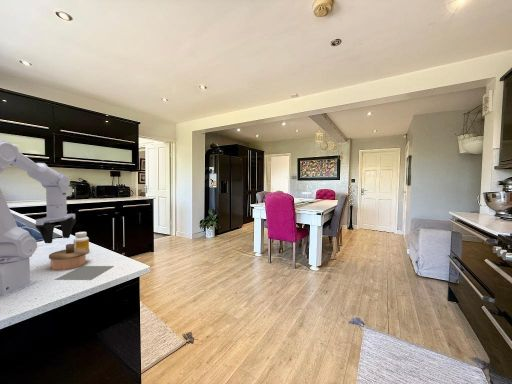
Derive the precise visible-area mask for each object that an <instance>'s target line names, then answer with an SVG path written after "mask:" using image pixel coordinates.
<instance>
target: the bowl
mask: <svg viewBox="0 0 512 384" xmlns="http://www.w3.org/2000/svg"><path fill="white" fill-rule="evenodd" d="M86 255H87V254H86ZM86 255H84V256H80V257H76V258H71V259H64V260H52V259H50V269H51V270H53V271H63V270H70V269H76V268H79V267H81V266H84V265H85V264H86V262H87V259H86V257H87V256H86Z"/></svg>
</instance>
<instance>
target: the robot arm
mask: <svg viewBox="0 0 512 384" xmlns="http://www.w3.org/2000/svg"><path fill="white" fill-rule="evenodd" d="M11 165H12V166H14V167H16V168H18V169H21V170H22V171H25V172H26V174H27V176H28V177H29V178H31V179H32V180H33V179H34V180H35V181H37V182H39V183H40V184H41V186H42V187H43V189H45V196H46V200H45V203H46V204H45V205H46V216H45V217H42V218H41V217H40V218H36V219H35V225H34V226H35V228H36V229H37V230H38V232H39V233H40V235H41V236H42V237H41V238H42V239H43V242H44V243H45V244H52V243H53V239H54V230H55V227H56V224H52V223H56V222H59V224H60V227H61V235H62V238H63V239H69V238H70V237H71V233H72V230H73V227H74V226H75V225H76V223H77V219H76V213H68V209H67V207H68V206H67V205H68V202H67V193H68V192H69V187H70V184H71V180H70V177H69V176H68V175H66V174H65V173H59V172H58V171H56V169H52V168H51V167H49V166H48V164H46V163H45V162H34V161H33V160H32V159H30V158H29V157H27V156H26V155H24V154H23V153H22V152H21V151H19V148H18V146H17V145H14V144H13V143H11V142H9V141H7V140H0V174H2V173H3V172H4V171H5V170H7V168H9V167H10V166H11ZM37 248H38V243H37V240H36V239H35V237H33V236H32V235H31V234H30V232H29V231H28V230H27V229H24V228H23V227H20V226H18V224H17V222H16V221H15V218H14V215H13V214H12V211H11V209H10V207H9V204H8V203H7V201H6V199H5V196H4V194H3V192H2V190H1V189H0V297H1V296H2V297H6V296H7V297H8V296H9V295H12V294H14V293H16V292H18V291H21V290H22V289H26V288H27V287H29V286H31V285H33V284H36V283H38V282H39V280H38V279H37V280H31V269H30V266H31V265H30V258H31V257H32V256H33V255H34V253H35V252H36V250H37Z"/></svg>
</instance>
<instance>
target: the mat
mask: <svg viewBox="0 0 512 384" xmlns="http://www.w3.org/2000/svg"><path fill="white" fill-rule="evenodd" d="M114 267H115V266H114V265H81V266H79V267H76V268H74V269H73V270H71V271H69V272H67V273H65V274H63V275H61V276H59V277H56V278H55V279H54V280H55V281H59V280H60V281H92V280H94V279H96V278H97V277H99V276H100V275H102V274H104V273H106V272H107V271H109V270H111V269H112V268H114Z"/></svg>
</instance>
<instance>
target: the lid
mask: <svg viewBox="0 0 512 384" xmlns="http://www.w3.org/2000/svg"><path fill="white" fill-rule="evenodd" d="M89 253H90V248H89V249H88V248H74V243H68V244H65V249H61V250H57V251H54V252H52V253H50V254H48V259H49V260H51V259H52V260H64V259H71V258H76V257H80V256H84V255H88V254H89Z"/></svg>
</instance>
